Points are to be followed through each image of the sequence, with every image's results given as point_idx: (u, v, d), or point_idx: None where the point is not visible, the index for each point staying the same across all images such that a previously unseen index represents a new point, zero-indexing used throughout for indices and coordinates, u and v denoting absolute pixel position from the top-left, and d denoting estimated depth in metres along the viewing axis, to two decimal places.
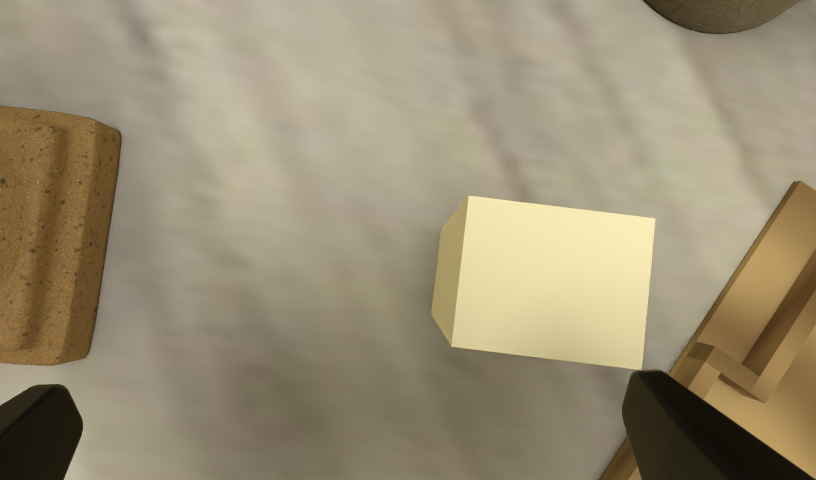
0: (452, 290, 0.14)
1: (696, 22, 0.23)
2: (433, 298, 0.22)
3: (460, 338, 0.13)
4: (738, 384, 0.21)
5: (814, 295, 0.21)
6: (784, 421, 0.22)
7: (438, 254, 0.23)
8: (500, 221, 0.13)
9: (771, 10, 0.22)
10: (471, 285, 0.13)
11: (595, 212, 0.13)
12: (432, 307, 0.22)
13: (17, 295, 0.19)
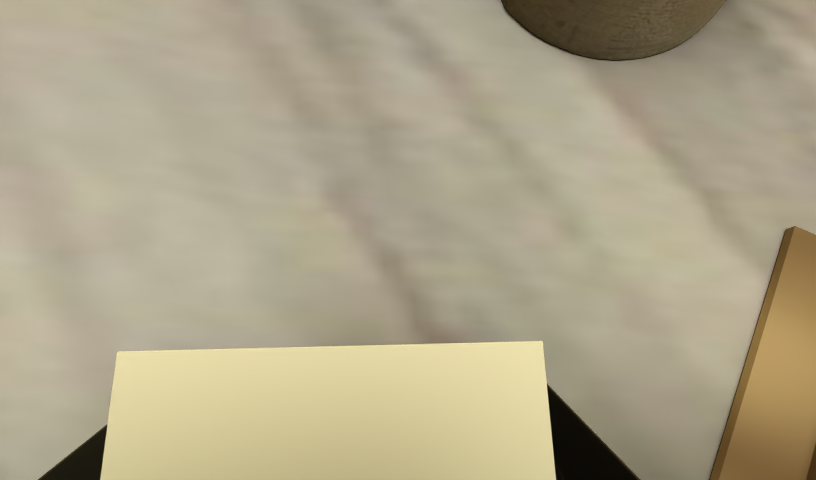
0: None
1: (601, 48, 0.18)
2: None
3: None
4: None
5: None
6: None
7: None
8: (190, 400, 0.06)
9: (690, 16, 0.17)
10: None
11: (405, 347, 0.06)
12: None
13: None
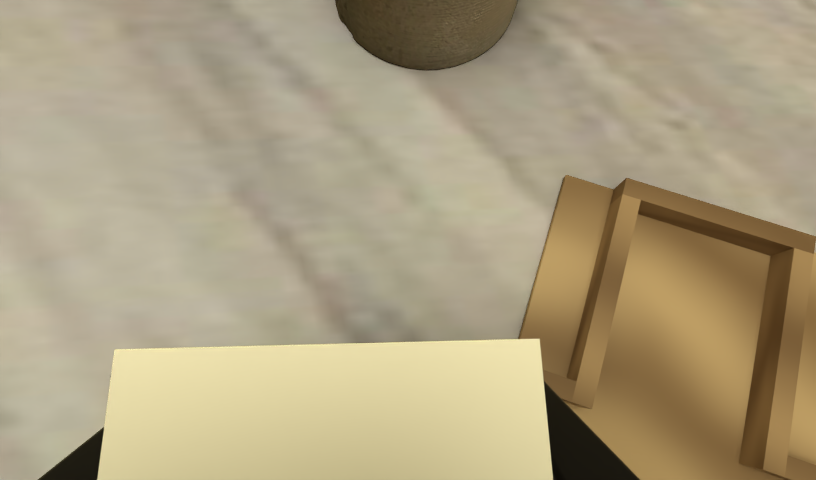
0: None
1: (423, 62, 0.24)
2: None
3: None
4: None
5: (604, 280, 0.20)
6: (632, 423, 0.20)
7: None
8: (187, 398, 0.06)
9: (477, 34, 0.23)
10: None
11: (402, 345, 0.06)
12: None
13: None
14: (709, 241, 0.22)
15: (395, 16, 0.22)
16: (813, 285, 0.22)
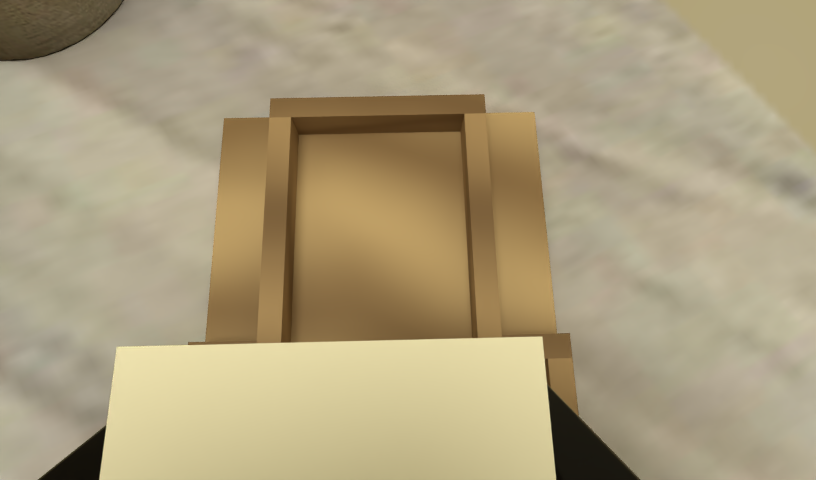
0: None
1: (32, 46, 0.21)
2: None
3: None
4: None
5: (266, 217, 0.17)
6: None
7: None
8: (191, 395, 0.06)
9: None
10: None
11: (405, 343, 0.06)
12: None
13: None
14: (393, 137, 0.20)
15: None
16: (511, 146, 0.20)
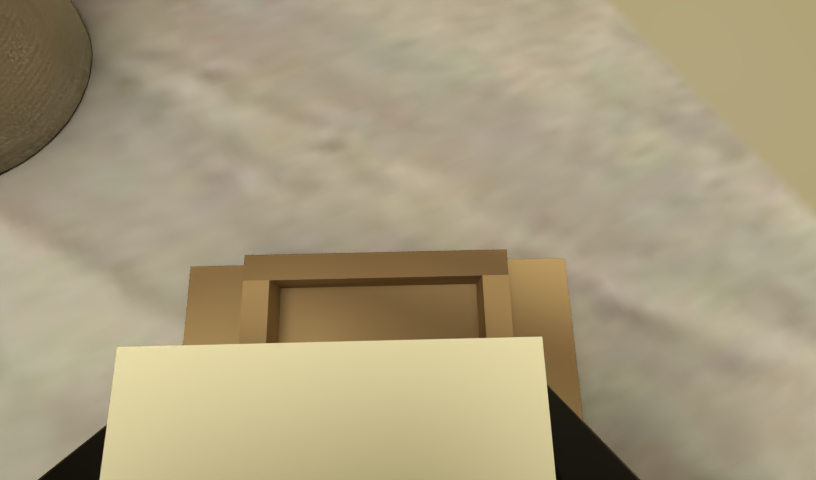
0: None
1: None
2: None
3: None
4: None
5: None
6: None
7: None
8: (190, 395, 0.06)
9: (2, 120, 0.16)
10: None
11: (405, 343, 0.06)
12: None
13: None
14: (395, 292, 0.16)
15: None
16: (537, 304, 0.16)
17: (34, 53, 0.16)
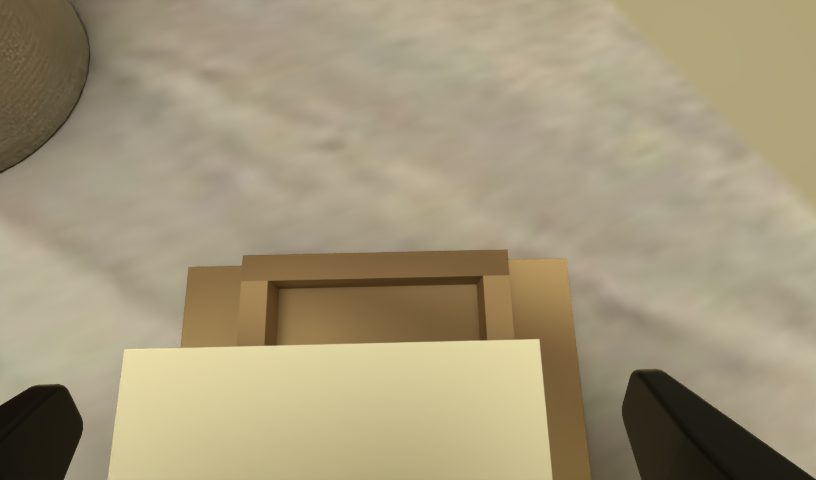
0: None
1: None
2: None
3: None
4: None
5: None
6: None
7: None
8: (196, 397, 0.06)
9: None
10: None
11: (405, 345, 0.06)
12: None
13: None
14: (395, 293, 0.16)
15: None
16: (538, 304, 0.16)
17: (31, 52, 0.16)
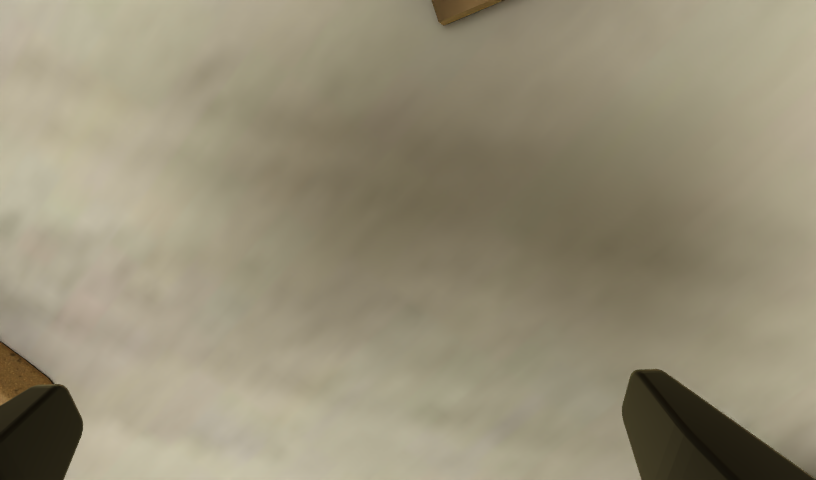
0: None
1: None
2: None
3: None
4: None
5: None
6: None
7: None
8: None
9: None
10: None
11: None
12: None
13: None
14: None
15: None
16: None
17: None
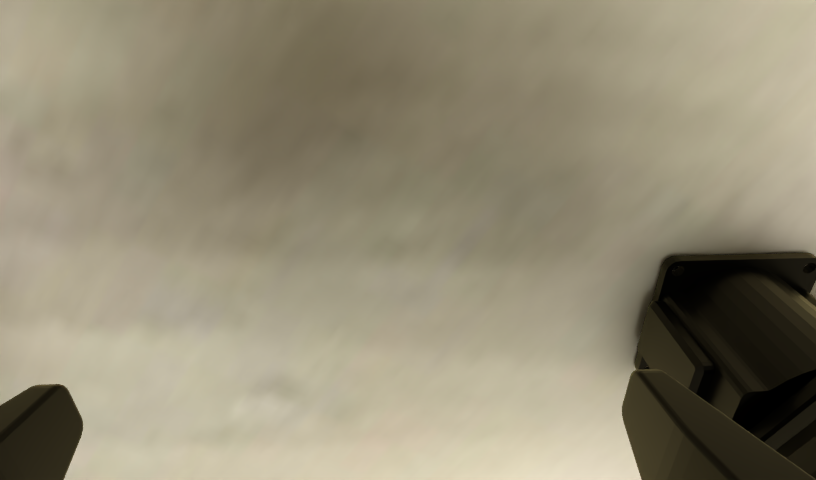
0: None
1: None
2: None
3: None
4: None
5: None
6: None
7: None
8: None
9: None
10: None
11: None
12: None
13: None
14: None
15: None
16: None
17: None
